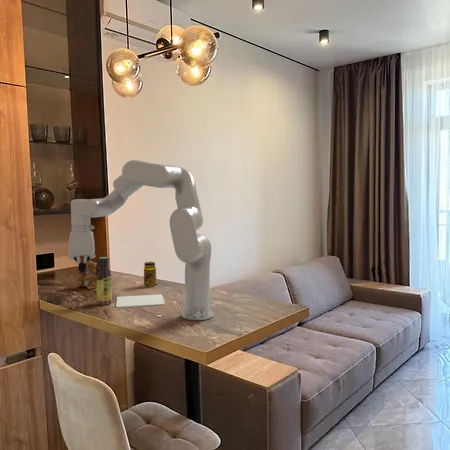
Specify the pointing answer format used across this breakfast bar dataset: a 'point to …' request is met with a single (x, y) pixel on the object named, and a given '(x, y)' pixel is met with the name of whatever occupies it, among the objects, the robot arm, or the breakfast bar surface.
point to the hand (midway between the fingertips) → (82, 272)
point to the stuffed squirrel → (90, 275)
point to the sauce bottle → (104, 282)
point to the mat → (139, 301)
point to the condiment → (150, 275)
